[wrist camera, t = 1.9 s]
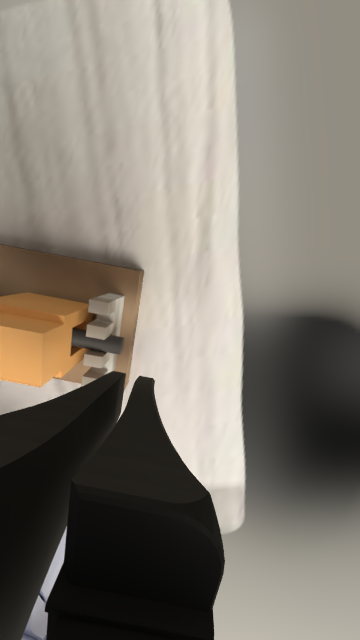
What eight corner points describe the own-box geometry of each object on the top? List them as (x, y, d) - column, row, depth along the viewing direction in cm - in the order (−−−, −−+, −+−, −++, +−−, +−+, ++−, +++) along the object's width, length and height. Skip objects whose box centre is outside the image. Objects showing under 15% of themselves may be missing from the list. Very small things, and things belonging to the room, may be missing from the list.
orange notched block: (88, 354, 18) (40, 395, 12) (26, 342, 18) (-52, 378, 12) (93, 304, 17) (43, 324, 11) (28, 292, 17) (-56, 305, 11)
